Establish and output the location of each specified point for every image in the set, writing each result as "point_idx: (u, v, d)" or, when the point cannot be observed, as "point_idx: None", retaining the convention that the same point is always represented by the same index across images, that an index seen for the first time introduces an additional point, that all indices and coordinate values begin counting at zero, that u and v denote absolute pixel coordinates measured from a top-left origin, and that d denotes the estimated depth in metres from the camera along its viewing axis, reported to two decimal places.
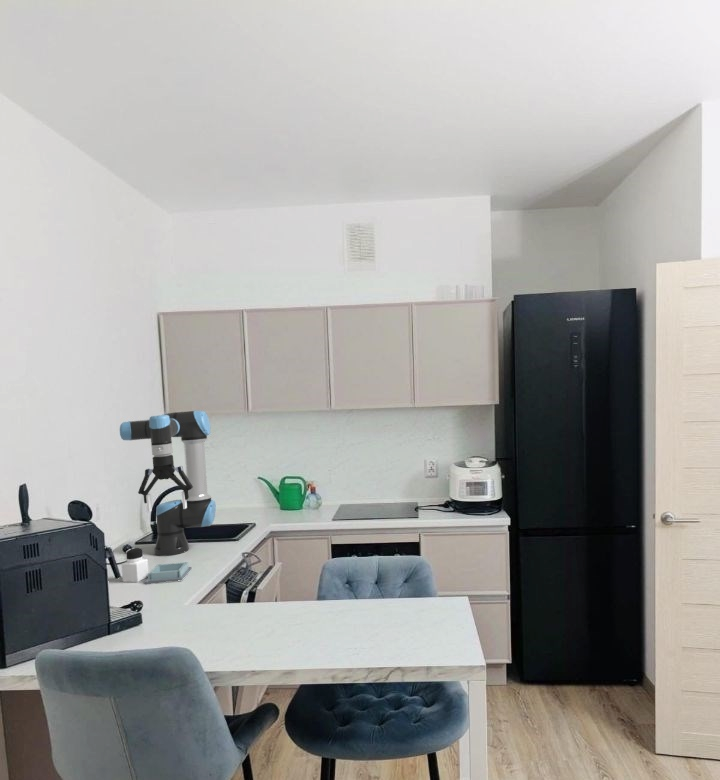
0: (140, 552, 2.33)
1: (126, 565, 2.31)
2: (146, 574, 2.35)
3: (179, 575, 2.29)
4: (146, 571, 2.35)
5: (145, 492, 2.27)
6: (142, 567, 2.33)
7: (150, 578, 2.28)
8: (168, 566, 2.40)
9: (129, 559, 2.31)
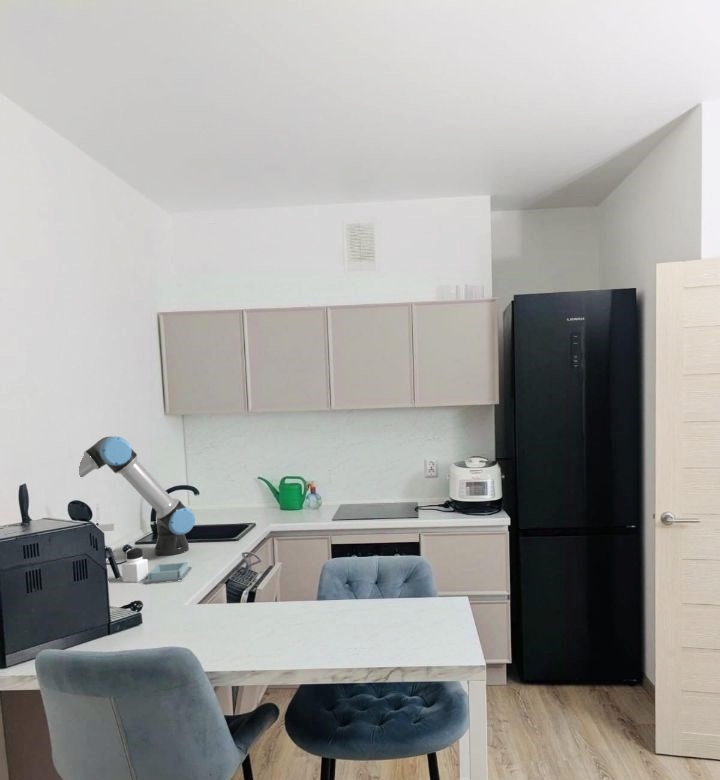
0: (140, 552, 2.33)
1: (126, 565, 2.31)
2: (146, 574, 2.35)
3: (179, 575, 2.29)
4: (146, 571, 2.35)
5: None
6: (142, 567, 2.33)
7: (150, 578, 2.28)
8: (168, 566, 2.40)
9: (129, 559, 2.31)
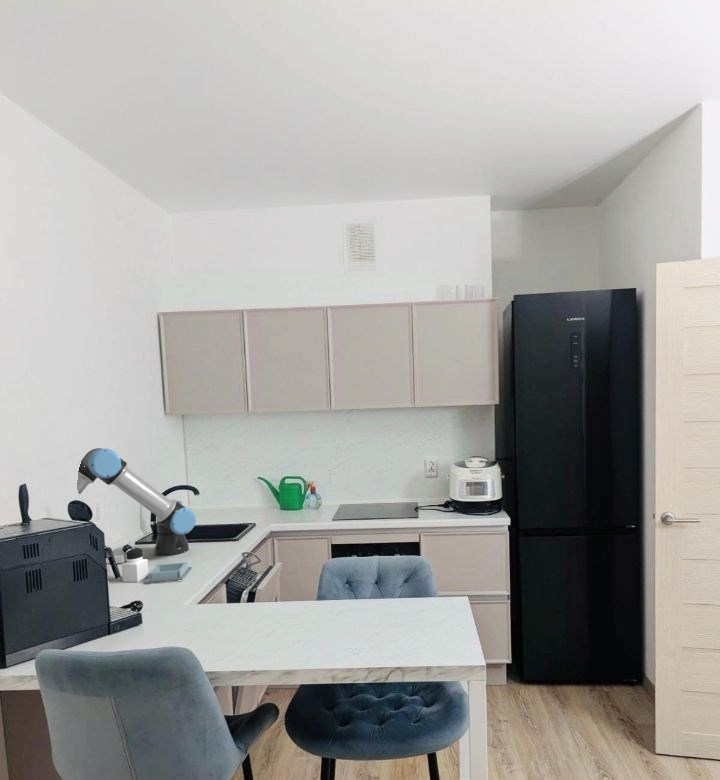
0: (140, 552, 2.33)
1: (126, 565, 2.31)
2: (146, 574, 2.35)
3: (179, 575, 2.29)
4: (146, 571, 2.35)
5: None
6: (142, 567, 2.33)
7: (150, 578, 2.28)
8: (168, 566, 2.40)
9: (129, 559, 2.31)
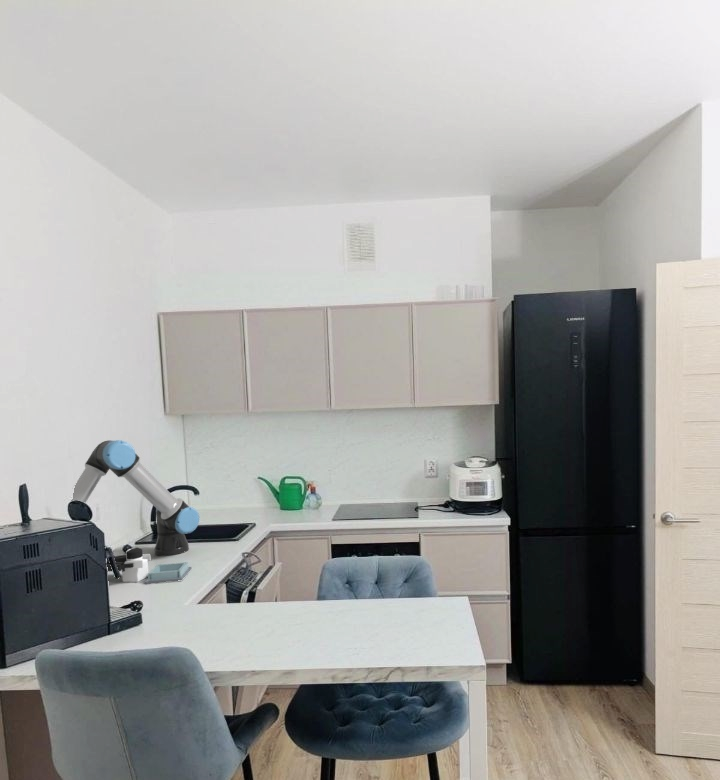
0: (140, 552, 2.33)
1: None
2: (146, 574, 2.35)
3: (179, 575, 2.29)
4: (146, 571, 2.35)
5: None
6: None
7: (150, 578, 2.28)
8: (168, 566, 2.40)
9: (129, 559, 2.31)
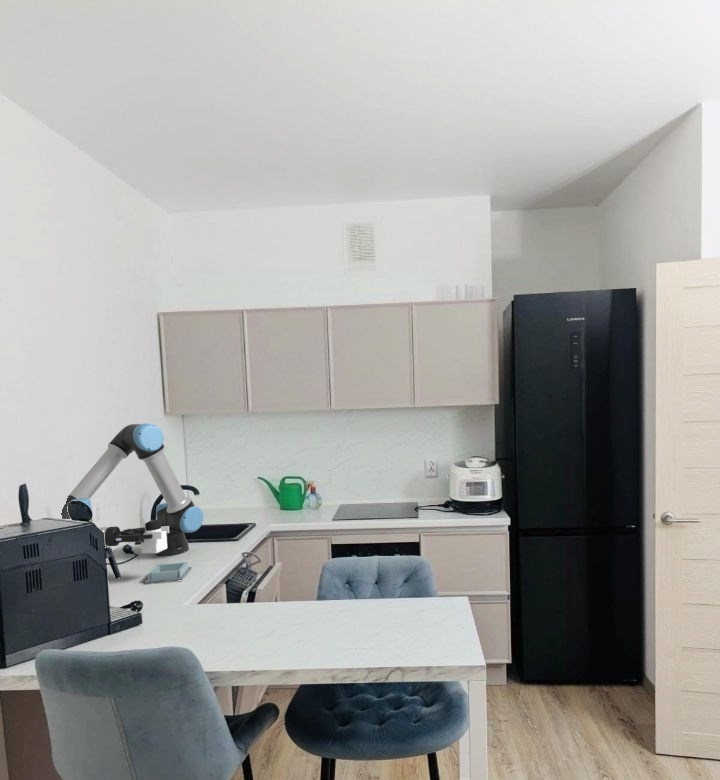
0: (159, 524, 2.33)
1: None
2: (165, 546, 2.35)
3: (179, 575, 2.29)
4: (165, 543, 2.35)
5: None
6: None
7: (150, 578, 2.28)
8: (168, 566, 2.40)
9: (148, 530, 2.31)
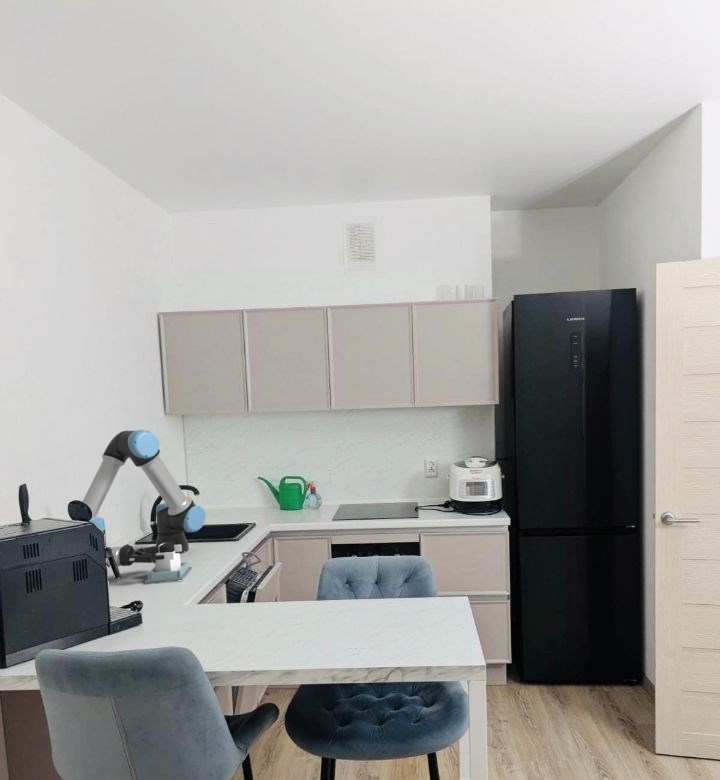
0: (173, 546, 2.34)
1: None
2: (179, 568, 2.36)
3: (179, 575, 2.29)
4: (179, 565, 2.36)
5: None
6: (175, 561, 2.34)
7: (150, 578, 2.28)
8: None
9: None
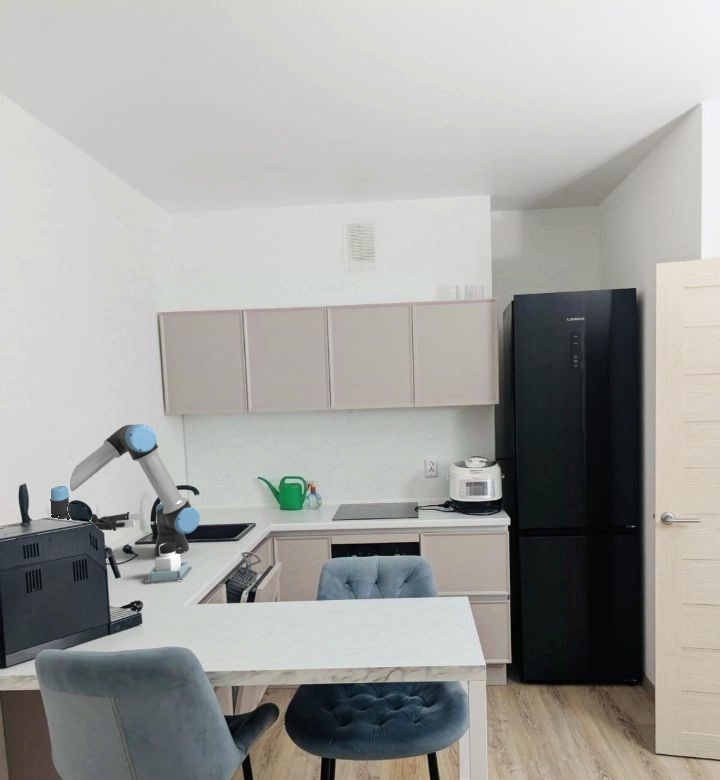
0: (173, 547, 2.34)
1: (160, 559, 2.32)
2: (179, 568, 2.36)
3: (179, 575, 2.29)
4: (179, 566, 2.36)
5: (126, 520, 2.41)
6: (176, 561, 2.34)
7: (150, 578, 2.28)
8: None
9: (163, 554, 2.32)
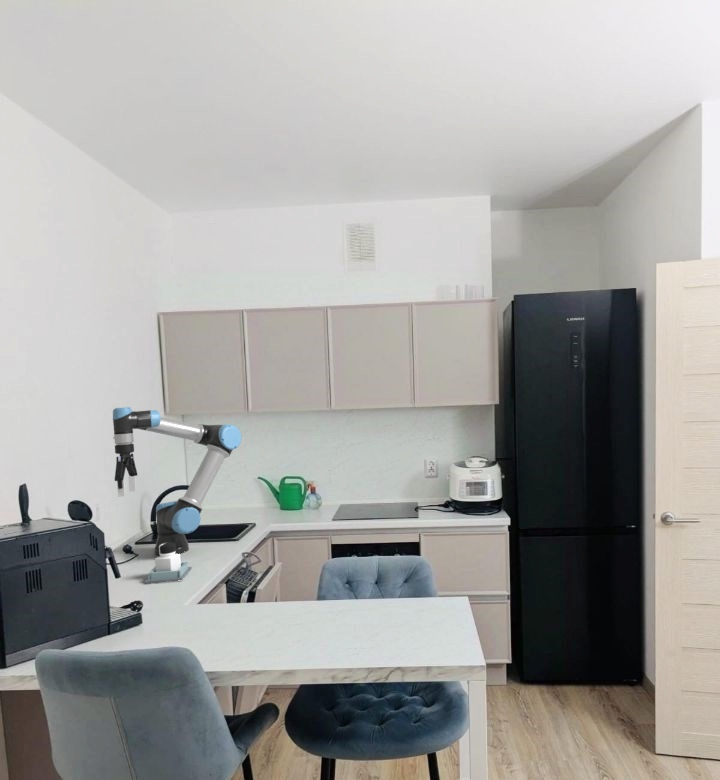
0: (173, 547, 2.34)
1: (160, 559, 2.32)
2: (179, 568, 2.36)
3: (179, 575, 2.29)
4: (179, 566, 2.36)
5: None
6: (176, 561, 2.34)
7: (150, 578, 2.28)
8: None
9: (163, 554, 2.32)
